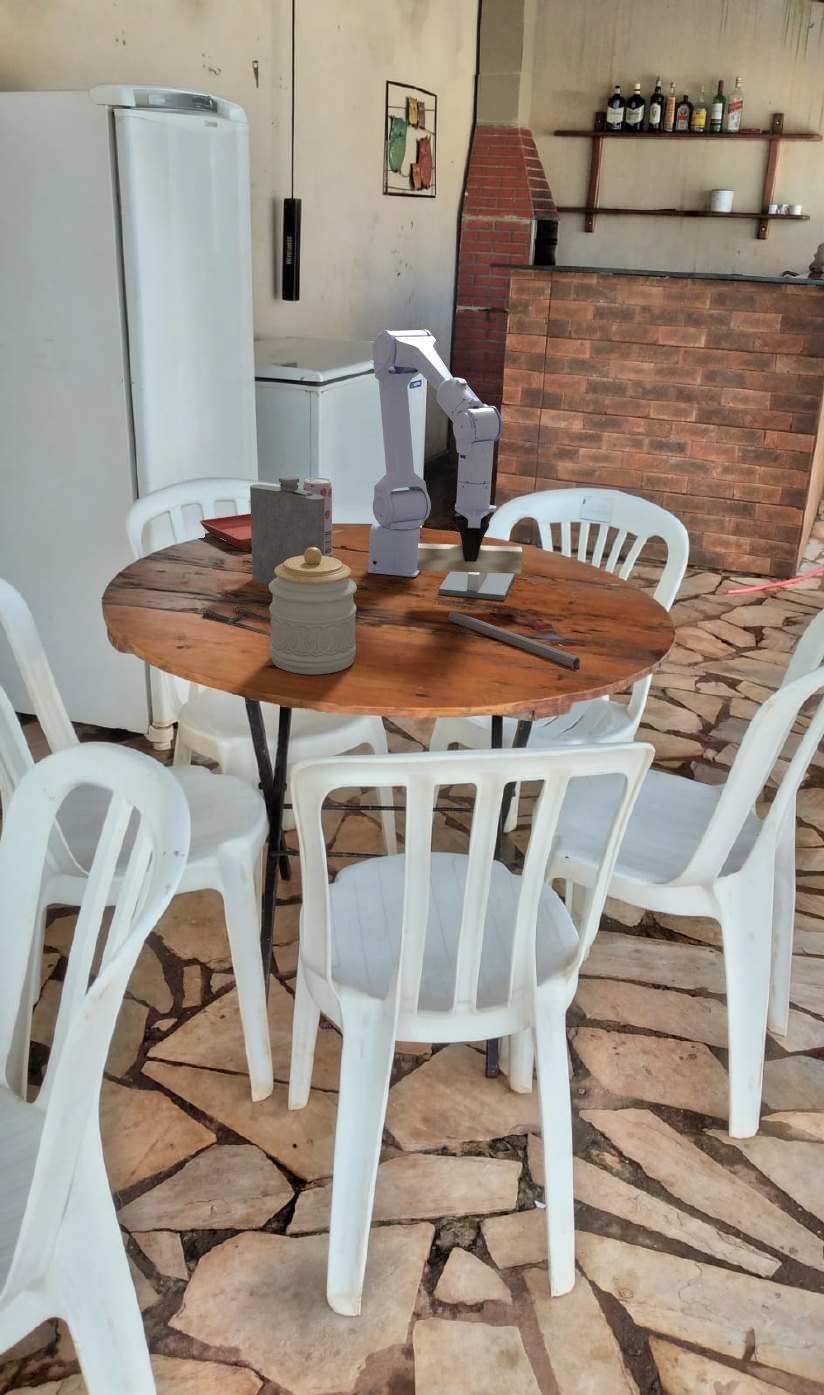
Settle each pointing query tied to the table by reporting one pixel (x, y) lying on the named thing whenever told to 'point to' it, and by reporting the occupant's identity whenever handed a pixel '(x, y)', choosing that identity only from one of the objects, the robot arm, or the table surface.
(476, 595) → the grey stepped base
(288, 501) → the hip flask
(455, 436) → the robot arm
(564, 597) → the table surface
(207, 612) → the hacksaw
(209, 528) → the plant saucer
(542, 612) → the table surface
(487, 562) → the birch beam
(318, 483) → the beverage can
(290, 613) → the jar
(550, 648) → the metal rod
